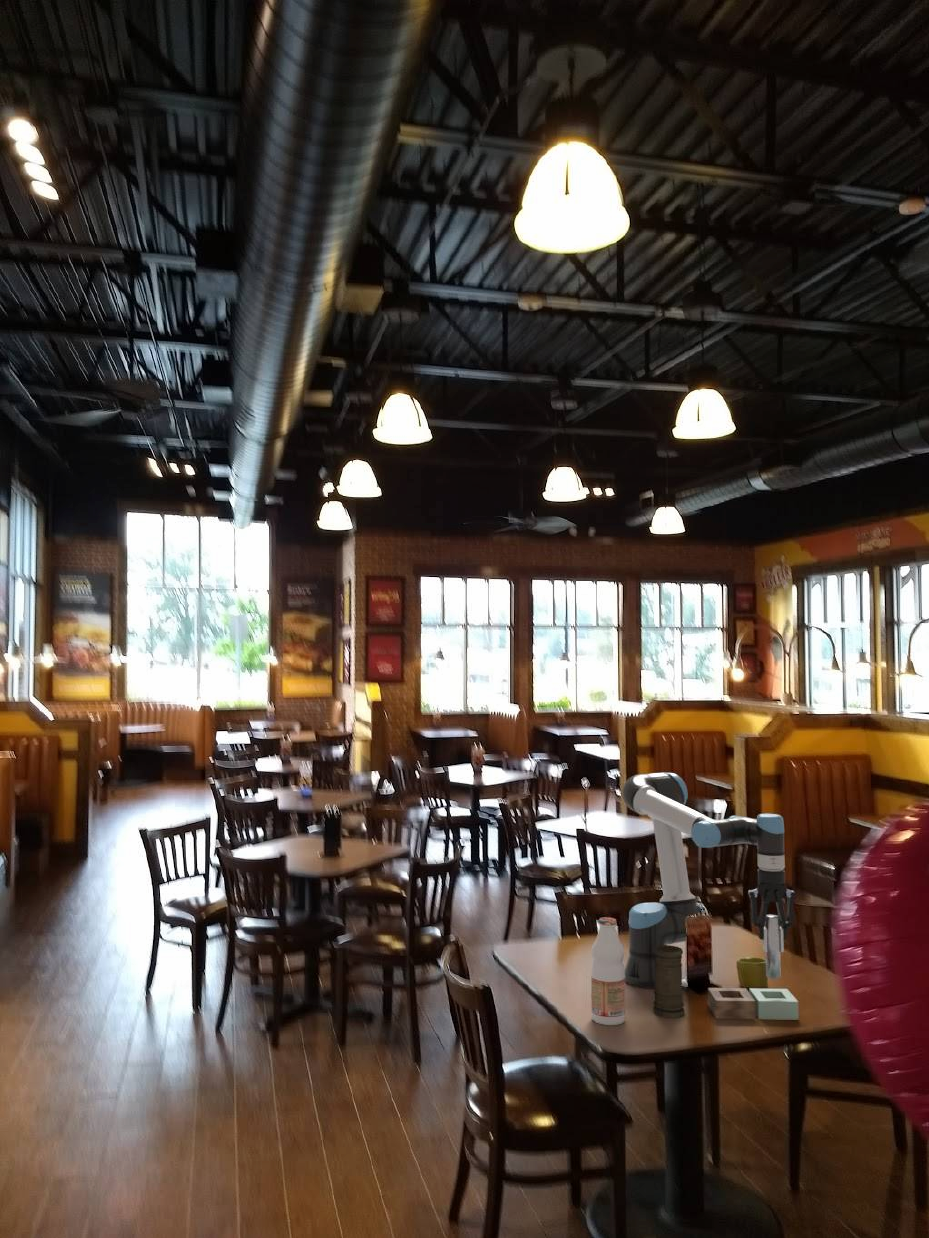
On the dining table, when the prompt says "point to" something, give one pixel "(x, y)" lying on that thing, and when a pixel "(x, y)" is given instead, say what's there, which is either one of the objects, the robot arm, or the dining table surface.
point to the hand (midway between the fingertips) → (772, 950)
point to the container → (668, 981)
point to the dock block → (775, 1004)
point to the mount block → (731, 1003)
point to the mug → (752, 973)
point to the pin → (773, 946)
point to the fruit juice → (608, 975)
